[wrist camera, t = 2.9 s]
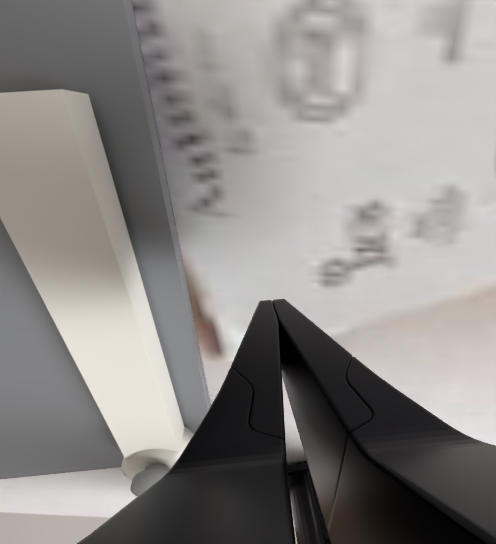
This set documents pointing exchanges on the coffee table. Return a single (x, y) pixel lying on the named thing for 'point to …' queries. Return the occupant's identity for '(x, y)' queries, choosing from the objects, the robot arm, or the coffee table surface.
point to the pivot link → (87, 267)
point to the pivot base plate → (141, 228)
